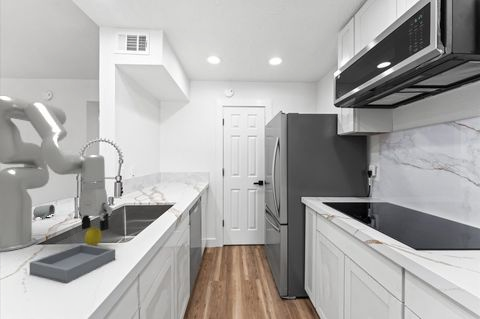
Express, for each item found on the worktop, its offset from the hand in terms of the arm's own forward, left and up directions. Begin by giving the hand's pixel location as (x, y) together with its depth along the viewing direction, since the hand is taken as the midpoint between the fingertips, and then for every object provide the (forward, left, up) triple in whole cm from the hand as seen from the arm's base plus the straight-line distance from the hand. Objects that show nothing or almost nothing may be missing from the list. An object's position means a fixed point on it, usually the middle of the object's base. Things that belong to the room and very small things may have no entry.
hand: (95, 229), depth 89 cm
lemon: (-1, 0, -7) cm, 7 cm away
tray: (+9, -14, -7) cm, 18 cm away
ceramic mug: (-72, +24, -7) cm, 77 cm away
